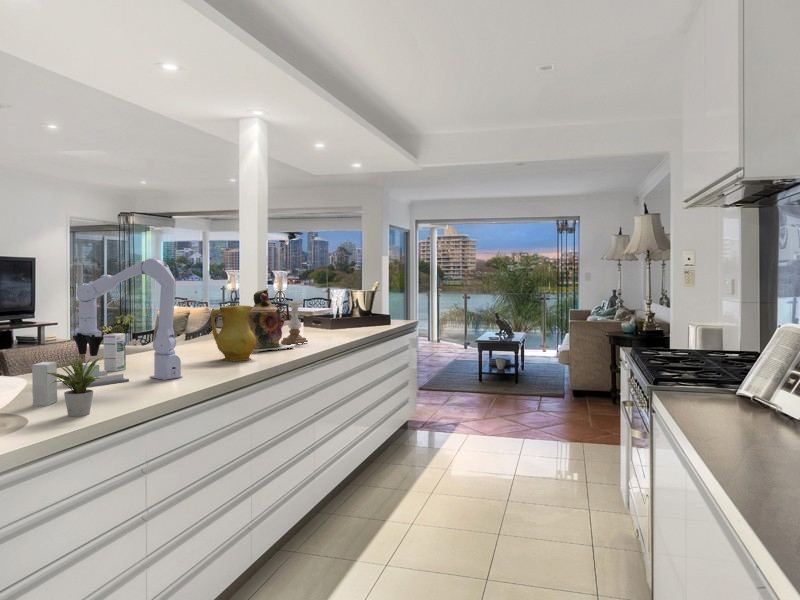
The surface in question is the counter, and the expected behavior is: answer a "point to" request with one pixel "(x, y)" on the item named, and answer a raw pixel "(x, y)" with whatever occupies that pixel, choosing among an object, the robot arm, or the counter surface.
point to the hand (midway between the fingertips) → (88, 355)
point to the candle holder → (294, 325)
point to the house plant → (78, 388)
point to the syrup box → (114, 352)
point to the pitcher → (234, 333)
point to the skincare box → (44, 383)
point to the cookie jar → (266, 323)
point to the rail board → (106, 379)
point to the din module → (95, 370)
